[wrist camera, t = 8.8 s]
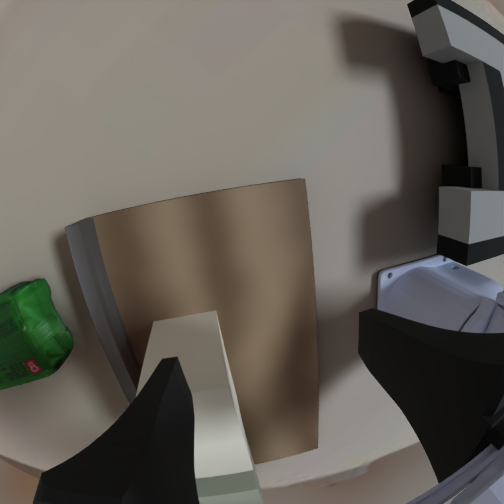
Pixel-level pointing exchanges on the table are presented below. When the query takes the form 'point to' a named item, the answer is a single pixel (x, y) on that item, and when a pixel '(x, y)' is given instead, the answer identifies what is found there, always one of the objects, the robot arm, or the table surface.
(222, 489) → the sage carton
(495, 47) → the game console
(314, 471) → the table surface
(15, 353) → the snack package
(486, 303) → the robot arm
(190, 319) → the cream carton
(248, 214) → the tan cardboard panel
